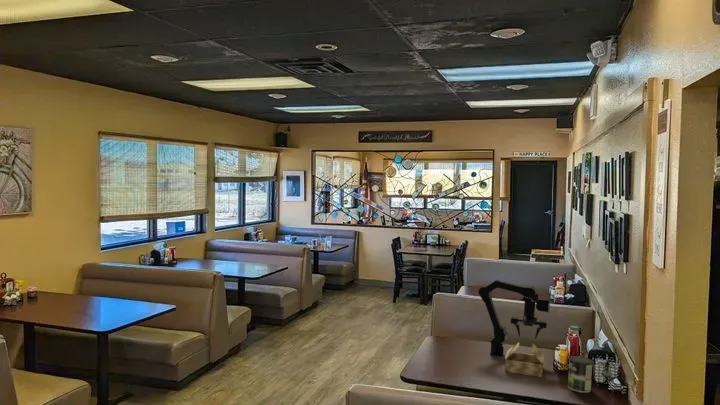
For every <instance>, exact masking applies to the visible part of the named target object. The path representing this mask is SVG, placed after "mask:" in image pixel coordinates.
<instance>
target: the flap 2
mask: <svg viewBox="0 0 720 405" xmlns="http://www.w3.org/2000/svg"><path fill="white" fill-rule="evenodd" d="M531 345H532V346H531V351H530V352H531V353H532V355H535V356H536V358H537V359H538V360H539V361H540V362H541V363H542V364H543V365H544V362H545V361H544V359H545V355H544V354H543V353H542V351H540V350H539V348H538V347H537V346H536V344H534V343H532V344H531Z"/></svg>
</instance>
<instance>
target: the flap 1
mask: <svg viewBox="0 0 720 405" xmlns="http://www.w3.org/2000/svg"><path fill="white" fill-rule="evenodd" d="M519 346H520V341H518V342H516V343H515V344H514V345H513V346H511V348H509V349H508V350H507V351H506V354H505V358H504V360H506V359H507V358H508V357H509V356H510V355H512V354H513V353H514V352H517V351H518V349H519Z"/></svg>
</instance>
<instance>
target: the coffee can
mask: <svg viewBox="0 0 720 405" xmlns="http://www.w3.org/2000/svg"><path fill="white" fill-rule="evenodd" d="M593 364H594V361H593V359H591V358H588V357H585V356H571V357H569V364H568V365H569V366H568V376H567V378H568V379H567V388H568V389H569V390H570V391H574V392H577V393H582V394H583V393H585V394H586V393H590V392H591V391H592V388H591V387H592V373H593V372H592V371H593Z"/></svg>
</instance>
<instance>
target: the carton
mask: <svg viewBox="0 0 720 405" xmlns="http://www.w3.org/2000/svg"><path fill="white" fill-rule="evenodd" d="M504 360H505V363H504V372H507V373H513V374H518V375H519V374H521V375H525V376H532V377H539V378H543V371H544V370H543V369H544V368H543V366H544V363H543V364H542V363H541V362H540V361H539V360H538V359H537V358H536V356H535V355H534V354H529V353H523V352H517V351H516V352H514V353H513V354H512V355H510V356H509V357H508V358H507V359H504Z"/></svg>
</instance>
